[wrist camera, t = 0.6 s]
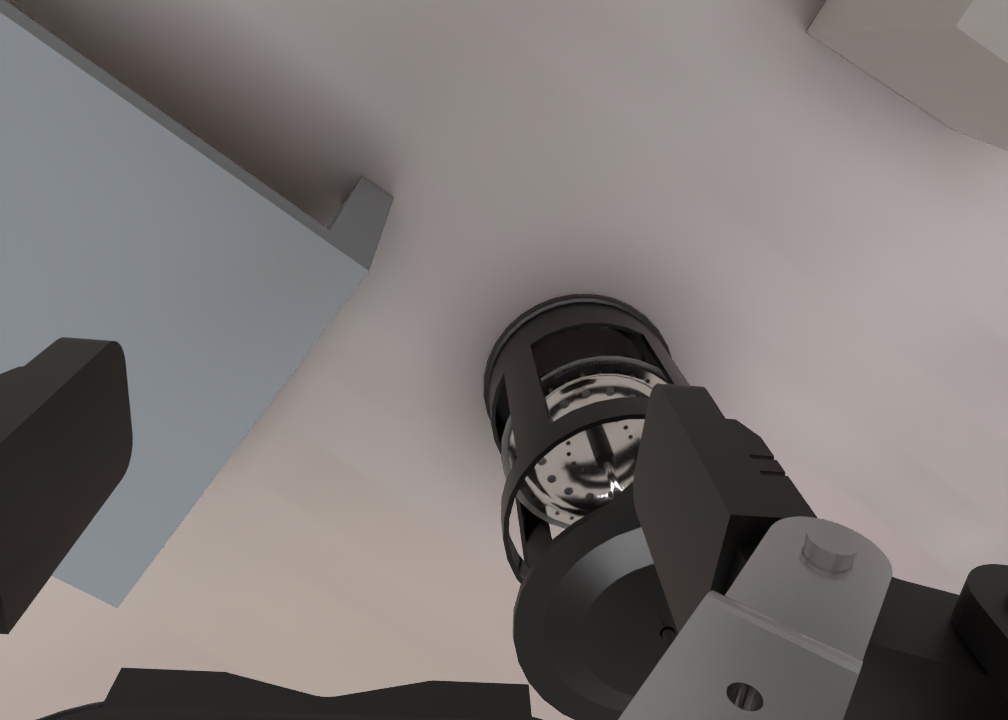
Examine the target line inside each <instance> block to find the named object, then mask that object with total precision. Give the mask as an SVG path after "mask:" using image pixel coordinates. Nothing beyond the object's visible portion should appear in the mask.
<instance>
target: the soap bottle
mask: <svg viewBox="0 0 1008 720" xmlns="http://www.w3.org/2000/svg"><path fill="white" fill-rule="evenodd" d="M806 33H807V34H809V35H810V36H812V37H813V38H815V39H816V40H818V41H819V42H821V43H822V44H824V45H825V46H827V47H828V48H830V49H831V50H833V51H834V52H836V53H837V54H839V55H840V56H842V57H844V58H845V59H847V60H848V61H850V62H851V63H853V64H854V65H856V66H857V67H859V68H860V69H862V70H863V71H865V72H866V73H868V74H869V75H871V76H872V77H874V78H875V79H877V80H878V81H880V82H881V83H883V84H884V85H886V86H887V87H889V88H890V89H892V90H893V91H895V92H896V93H898V94H899V95H901V96H902V97H904V98H905V99H907V100H908V101H910V102H911V103H913V104H914V105H916V106H917V107H919V108H920V109H922V110H923V111H925V112H926V113H928V114H929V115H931V116H932V117H934V118H935V119H937V120H938V121H940V122H941V123H943V124H944V125H946V126H947V127H949V128H950V129H952V130H955V131H957V132H960V133H963V134H965V135H968V136H971V137H973V138H976V139H979V140H981V141H984V142H987V143H989V144H992V145H995V146H997V147H1000V148H1003V149H1005V150H1008V0H826V1H825V3H824V4H823V6H822V8H821V9H820V11H819V12H818V14H817V16H816V17H815V19H814V20H813V22H812V23H811V25H810V27H809V28H808V30H807V31H806Z"/></svg>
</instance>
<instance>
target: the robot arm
mask: <svg viewBox="0 0 1008 720" xmlns="http://www.w3.org/2000/svg"><path fill="white" fill-rule="evenodd" d="M132 447H133V433H132V422H131V412H130V402H129V392H128V381H127V371H126V361H125V355H124V351H123V349H122V347H121V345H120V344H119V343H118V342H117V341H108V340H95V339H82V338H69V337H61V338H59V339H57V340H56V341H55V342H53V343H52V344H51V345H50V346H48V347H47V348H46V349H45V350H43V351H42V352H41V353H40V354H38V355H37V356H36V357H35V358H33V359H32V360H31V361H30V362H28V363H27V364H26V365H25V366H23V367H22V366H19V367H16V368H14V369H11V370H9V371H6V372H4V373H2V374H0V634H9V632H10V631H11V630H12V628H13V627H14V626H15V624H16V623H17V622H18V620H19V619H20V617H21V616H22V615H23V613H24V612H25V611H26V609H27V608H28V607H29V605H30V604H31V602H32V601H33V600H34V598H35V597H36V596H37V594H38V593H39V592H40V590H41V589H42V588H43V586H44V585H45V583H46V582H47V581H48V579H49V578H50V577H51V575H52V574H53V573H54V571H55V570H56V568H57V567H58V566H59V564H60V563H61V562H62V560H63V559H64V558H65V556H66V555H67V553H68V552H69V551H70V549H71V548H72V547H73V545H74V544H75V543H76V541H77V540H78V539H79V537H80V536H81V534H82V533H83V532H84V530H85V529H86V528H87V526H88V525H89V524H90V522H91V521H92V519H93V518H94V517H95V515H96V514H97V513H98V511H99V510H100V509H101V507H102V506H103V505H104V503H105V502H106V500H107V499H108V498H109V496H110V495H111V494H112V492H113V491H114V490H115V488H116V487H117V485H118V484H119V483H120V481H121V480H122V479H123V477H124V475H125V474H126V471H127V469H128V466H129V463H130V459H131V454H132ZM633 498H634V506H635V510H636V513H637V516H638V519H639V522H640V525H641V527H642V530H643V533H644V536H645V539H646V542H647V545H648V548H649V550H650V553H651V556H652V559H653V562H654V565H655V568H656V571H657V573H658V576H659V579H660V582H661V585H662V588H663V591H664V593H665V596H666V599H667V602H668V605H669V608H670V611H671V614H672V616H673V619H674V622H675V625H676V628H677V631H678V635H677V637H676V638H675V640H674V641H673V642H672V644H671V645H670V647H669V648H668V650H667V651H666V652H665V654H664V655H663V657H662V658H661V660H660V661H659V662H658V664H657V665H656V667H655V668H654V669H653V671H652V672H651V674H650V675H649V677H648V678H647V679H646V681H645V682H644V684H643V685H642V686H641V688H640V689H639V691H638V692H637V694H636V695H635V696H634V698H633V699H632V701H631V702H630V703H629V705H628V706H627V708H626V709H625V711H624V712H623V713H622V715H621V716H620V718H619V719H618V720H1008V565H999V564H989V565H982V566H978V567H976V568H974V569H973V570H971V572H970V573H969V574H968V577H967V579H966V581H965V584H964V586H963V588H962V591H961V593H960V595H957V594H953V593H949V592H945V591H941V590H938V589H934V588H930V587H926V586H922V585H918V584H914V583H910V582H907V581H903V580H900V579H897V578H894V577H892V567H891V564H890V562H889V560H888V558H887V557H886V555H885V554H884V553H883V552H882V551H881V550H880V549H879V548H878V547H877V546H876V545H875V544H874V543H872V542H871V541H870V540H868V539H867V538H865V537H864V536H862V535H861V534H859V533H857V532H855V531H853V530H852V529H849V528H847V527H845V526H842V525H840V524H837V523H834V522H831V521H827V520H824V519H819V518H817V517H816V515H815V514H814V512H813V511H812V510H811V508H810V507H809V505H808V504H807V502H806V501H805V500H804V498H803V497H802V495H801V494H800V493H799V491H798V490H797V488H796V487H795V485H794V484H793V483H792V481H791V480H790V478H789V477H788V476H785V471H784V470H783V468H782V467H781V466H780V464H779V463H778V461H777V460H774V456H773V454H772V453H771V451H770V450H769V449H768V447H767V446H766V444H765V443H764V441H763V440H762V439H761V437H760V436H758V435H757V434H755V433H754V432H753V431H751V430H750V429H748V428H747V427H746V426H744V425H743V424H741V423H740V422H738V421H737V420H735V419H725V417H724V416H723V414H722V413H721V411H720V409H719V408H718V406H717V405H716V403H715V402H714V400H713V399H712V397H711V396H710V394H709V393H708V391H707V390H706V388H704V387H698V386H685V385H672V384H659V383H657V384H655V385H654V387H653V389H652V391H651V394H650V397H649V401H648V406H647V411H646V416H645V421H644V426H643V431H642V436H641V441H640V446H639V451H638V456H637V461H636V465H635V471H634V479H633ZM37 720H542V719H539V718H535V717H532V715H531V705H530V695H529V685H526V684H502V683H478V682H454V681H427V682H421V683H414V684H408V685H402V686H396V687H390V688H384V689H378V690H372V691H366V692H360V693H354V694H348V695H342V696H336V697H320V696H314V695H311V694H307V693H303V692H299V691H295V690H291V689H288V688H284V687H280V686H276V685H272V684H269V683H265V682H261V681H257V680H253V679H250V678H246V677H242V676H238V675H234V674H230V673H227V672H211V671H187V670H163V669H138V668H121V670H120V672H119V674H118V676H117V678H116V680H115V682H114V684H113V685H112V687H111V689H110V691H109V693H108V695H107V697H106V699H105V701H103V702H97V703H91V704H87V705H83V706H79V707H75V708H71V709H67V710H63V711H60V712H57V713H54V714H52V715H49V716H46V717H43V718H40V719H37Z"/></svg>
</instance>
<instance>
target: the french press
mask: <svg viewBox="0 0 1008 720" xmlns="http://www.w3.org/2000/svg"><path fill="white" fill-rule="evenodd" d="M584 327H607V328H610V329H612V330H615V331H617V332H619V333H621V334H622V335H624V336H625V337H627V338H628V339H630V340H631V341H632V343H633V344H634V345H635V346H636V347H637V348H638V349H639V350H640V352H641V354H642V355H643V357H644V360H645V362H644V361H640V360H637V359H634V358H629V357H622V356H616V355H601V356H591V357H586V358H580V359H576V360H573V361H570V362H567V363H564V364H561V365H559V366H557V367H555V368H553V369H551V370H549V371H547V372H546V373H544V374H543V375H541V376H540V374H539V370H538V367H537V363H536V359H535V355H534V351H533V347H534V346H536V345H537V344H539V343H541V342H542V341H544V340H546V339H547V338H549V337H552V336H554V335H557V334H560V333H562V332H565V331H568V330H573V329H578V328H584ZM657 383H659V384H672V385H685V386H690V385H689V384H688V382H687V381H686V379H685V378H684V376H683V375H682V373H681V372H680V370H679V369H678V367H677V366H676V364H675V363H674V361H673V360H672V357H671V354H670V351H669V348H668V345H667V344H666V342H665V340H664V339H663V337H662V335H661V334H660V332H659V330H658V329H657V328H656V327H655V326H654V325H653V324H652V323H651V321H650V320H649V319H648V318H647V317H646V316H645V315H643V314H642V313H640V312H639V311H637V310H636V309H634V308H633V307H631V306H630V305H627V304H625V303H622V302H620V301H618V300H615V299H612V298H607V297H602V296H597V295H572V296H567V297H561V298H556V299H553V300H551V301H548V302H545V303H543V304H540V305H538V306H536V307H534V308H533V309H531V310H529V311H528V312H526V313H525V314H523V315H521V316H520V317H519V318H518V319H517V320H516V321H515V322H514V323H513V324H511V325H510V326H509V327H508V328H507V329H506V330H505V332H504V333H503V334H502V336H501V337H500V339H499V340H498V341H497V343H496V344H495V346H494V348H493V350H492V353H491V355H490V357H489V359H488V362H487V366H486V371H485V375H484V400H485V405H486V410H487V414H488V416H489V418H490V421H491V425H492V430H493V435H494V440H495V443H496V445H497V447H498V449H499V452H500V454H501V459H502V464H503V469H504V474H505V477H506V483H505V487H504V491H503V494H502V502H501V523H502V533H503V541H504V546H505V550H506V555H507V560H508V562H509V564H510V566H511V568H512V570H513V572H514V574H515V576H516V578H517V580H518V581H519V582H520V583H521V585H520V589H519V592H518V596H517V599H516V603H515V607H514V615H513V639H514V644H515V648H516V653H517V658H518V662H519V664H520V666H521V668H522V670H523V672H524V674H525V676H526V678H527V680H528V682H529V683H530V684H531V685H532V687H533V688H534V689H535V690H536V691H537V692H538V694H539V695H540V696H541V697H542V698H543V699H544V700H545V701H546V702H547V703H549V704H550V705H551V706H553V707H554V708H555V709H557V710H558V711H559V712H561V713H562V714H564V715H566V716H568V717H570V718H572V719H574V720H618V719H619V718H620V716H621V715H622V713H623V712H624V711H625V709H626V708H627V706H628V705H629V703H630V702H631V701H632V699H633V698H634V696H635V695H636V694H637V692H638V691H639V689H640V688H641V686H642V685H643V684H644V682H645V681H646V679H647V678H648V677H649V675H650V674H651V672H652V671H653V669H654V668H655V667H656V665H657V664H658V662H659V661H660V660H661V658H662V657H663V655H664V654H665V652H666V651H667V650H668V648H669V647H670V645H671V644H672V642H673V641H674V640H675V638H676V637H677V635H678V631H677V628H676V625H675V622H674V619H673V616H672V614H671V611H670V608H669V605H668V602H667V599H666V596H665V593H664V591H663V588H662V585H661V582H660V579H659V576H658V573H657V571H656V568H655V565H654V562H653V559H652V556H651V553H650V550H649V548H648V545H647V542H646V539H645V536H644V533H643V530H642V527H641V525H640V522H639V519H638V516H637V513H636V510H635V506H634V498H633V479H634V471H635V465H636V461H637V456H638V451H639V446H640V441H641V436H642V431H643V426H644V421H645V416H646V411H647V406H648V401H649V397H650V394H651V391H652V389H653V387H654V385H655V384H657ZM515 497H516V504H517V512H518V519H519V526H520V533H521V541H522V548H523V555H524V561H523V559H522V558H521V557H520V556H519V554H518V553H517V551H516V548H515V546H514V544H513V542H512V540H511V538H510V535H509V517H510V514H511V510H512V506H513V502H514V499H515ZM549 523H550V524H553V525H556V526H559V527H562V528H565V530H564V531H563V532H561V533H560V534H559V535H558V536H557V537H555V538H554V539H553V540H552V537H551V532H550V527H549Z"/></svg>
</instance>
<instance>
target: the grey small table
mask: <svg viewBox="0 0 1008 720" xmlns="http://www.w3.org/2000/svg"><path fill="white" fill-rule="evenodd" d="M392 200H393V197H391V196H390V195H389V194H387V193H386V192H385V191H383V190H382V189H381V188H379V187H378V186H376V185H375V184H374V183H372V182H371V181H370V180H368V179H367V178H366V177H364V176H362V178H361V179H360V180H359V182H358V183H357V185H356V186H355V187H354V189H353V190H352V192H351V193H350V194H349V196H348V197H347V199H346V200H345V201H344V203H343V204H342V206H341V207H340V209H339V211H338V212H337V214H336V216H335V217H334V219H333V221H332V222H331V224H330V225H329V227H328V229H327V228H326V227H325V226H323V225H322V224H320V223H319V222H318V221H316V220H315V219H313V218H312V217H311V216H309V215H308V214H306V213H305V212H303V211H302V210H301V209H299V208H298V207H296V206H295V205H294V204H292V203H291V202H289V201H288V200H287V199H285V198H284V197H282V196H281V195H279V194H278V193H277V192H275V191H274V190H272V189H271V188H270V187H268V186H267V185H265V184H264V183H262V182H261V181H260V180H258V179H257V178H255V177H254V176H253V175H251V174H250V173H248V172H247V171H246V170H244V169H243V168H241V167H240V166H238V165H237V164H236V163H234V162H233V161H231V160H230V159H229V158H227V157H226V156H224V155H223V154H222V153H220V152H219V151H217V150H216V149H214V148H213V147H212V146H210V145H209V144H207V143H206V142H205V141H203V140H202V139H200V138H199V137H198V136H196V135H195V134H193V133H192V132H190V131H189V130H188V129H186V128H185V127H183V126H182V125H181V124H179V123H178V122H176V121H175V120H173V119H172V118H171V117H169V116H168V115H166V114H165V113H164V112H162V111H161V110H159V109H158V108H157V107H155V106H154V105H152V104H151V103H149V102H148V101H147V100H145V99H144V98H142V97H141V96H140V95H138V94H137V93H135V92H134V91H133V90H131V89H130V88H128V87H127V86H125V85H124V84H123V83H121V82H120V81H118V80H117V79H116V78H114V77H113V76H111V75H110V74H109V73H107V72H106V71H104V70H103V69H101V68H100V67H99V66H97V65H96V64H94V63H93V62H92V61H90V60H89V59H87V58H86V57H85V56H83V55H82V54H80V53H79V52H77V51H76V50H75V49H73V48H72V47H70V46H69V45H68V44H66V43H65V42H63V41H62V40H60V39H59V38H58V37H56V36H55V35H53V34H52V33H51V32H49V31H48V30H46V29H45V28H44V27H42V26H41V25H39V24H38V23H36V22H35V21H34V20H32V19H31V18H29V17H28V16H27V15H25V14H24V13H22V12H21V11H20V10H18V9H17V8H15V7H14V6H12V5H11V4H10V3H8V2H7V1H5V0H0V374H2V373H4V372H6V371H9V370H11V369H14V368H16V367H19V366H22V367H23V366H25V365H26V364H27V363H28V362H30V361H31V360H32V359H33V358H35V357H36V356H37V355H38V354H40V353H41V352H42V351H43V350H45V349H46V348H47V347H48V346H50V345H51V344H52V343H53V342H55V341H56V340H57V339H59V338H61V337H69V338H82V339H95V340H108V341H117V342H118V343H119V344H120V345H121V347H122V349H123V351H124V355H125V361H126V371H127V381H128V392H129V402H130V412H131V422H132V433H133V447H132V454H131V459H130V463H129V466H128V469H127V471H126V474H125V475H124V477H123V479H122V480H121V481H120V483H119V484H118V485H117V487H116V488H115V490H114V491H113V492H112V494H111V495H110V496H109V498H108V499H107V500H106V502H105V503H104V505H103V506H102V507H101V509H100V510H99V511H98V513H97V514H96V515H95V517H94V518H93V519H92V521H91V522H90V524H89V525H88V526H87V528H86V529H85V530H84V532H83V533H82V534H81V536H80V537H79V539H78V540H77V541H76V543H75V544H74V545H73V547H72V548H71V549H70V551H69V552H68V553H67V555H66V556H65V558H64V559H63V560H62V562H61V563H60V564H59V566H58V567H57V568H56V570H55V571H54V573H53V574H52V576H54V577H56V578H58V579H60V580H62V581H64V582H66V583H68V584H70V585H72V586H74V587H76V588H78V589H80V590H82V591H84V592H86V593H88V594H90V595H92V596H94V597H96V598H98V599H100V600H102V601H104V602H106V603H108V604H110V605H112V606H114V607H116V608H118V607H119V605H120V604H121V603H122V601H123V600H124V599H125V597H126V596H127V595H128V593H129V592H130V591H131V589H132V588H133V587H134V585H135V584H136V583H137V581H138V580H139V578H140V577H141V576H142V574H143V573H144V572H145V570H146V569H147V568H148V566H149V565H150V564H151V562H152V561H153V560H154V558H155V557H156V556H157V554H158V553H159V552H160V550H161V549H162V548H163V546H164V545H165V544H166V542H167V541H168V540H169V538H170V537H171V536H172V534H173V533H174V532H175V530H176V529H177V528H178V526H179V525H180V523H181V522H182V521H183V519H184V518H185V517H186V515H187V514H188V513H189V511H190V510H191V509H192V507H193V506H194V505H195V503H196V502H197V501H198V499H199V498H200V497H201V495H202V494H203V493H204V491H205V490H206V489H207V487H208V486H209V485H210V483H211V482H212V481H213V479H214V478H215V477H216V475H217V474H218V473H219V471H220V470H221V468H222V467H223V466H224V464H225V463H226V462H227V460H228V459H229V458H230V456H231V455H232V454H233V452H234V451H235V450H236V448H237V447H238V446H239V444H240V443H241V442H242V440H243V439H244V438H245V436H246V435H247V434H248V432H249V431H250V430H251V428H252V427H253V426H254V424H255V423H256V422H257V420H258V419H259V418H260V416H261V415H262V414H263V412H264V411H265V409H266V408H267V407H268V405H269V404H270V403H271V401H272V400H273V399H274V397H275V396H276V395H277V393H278V392H279V391H280V389H281V388H282V387H283V385H284V384H285V383H286V381H287V380H288V379H289V377H290V376H291V375H292V373H293V372H294V371H295V369H296V368H297V367H298V365H299V364H300V363H301V361H302V360H303V359H304V357H305V356H306V354H307V353H308V352H309V350H310V349H311V348H312V346H313V345H314V344H315V342H316V341H317V340H318V338H319V337H320V336H321V334H322V333H323V332H324V330H325V329H326V328H327V326H328V325H329V324H330V322H331V321H332V320H333V318H334V317H335V316H336V314H337V313H338V312H339V310H340V309H341V308H342V306H343V305H344V304H345V302H346V301H347V299H348V298H349V297H350V295H351V294H352V293H353V291H354V290H355V289H356V287H357V286H358V285H359V283H360V282H361V281H362V279H363V278H364V277H365V275H366V274H367V273H368V271H369V269H370V266H371V263H372V260H373V257H374V254H375V251H376V248H377V245H378V242H379V239H380V236H381V233H382V230H383V227H384V224H385V221H386V218H387V215H388V212H389V209H390V206H391V203H392Z"/></svg>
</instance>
